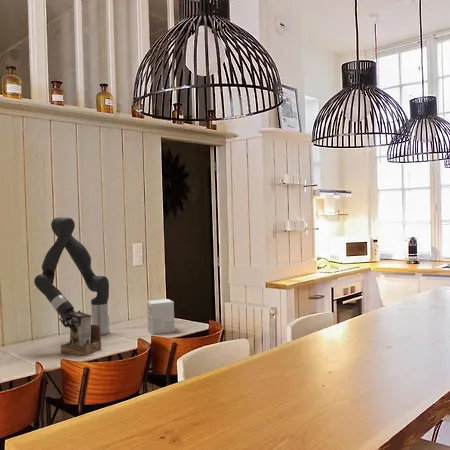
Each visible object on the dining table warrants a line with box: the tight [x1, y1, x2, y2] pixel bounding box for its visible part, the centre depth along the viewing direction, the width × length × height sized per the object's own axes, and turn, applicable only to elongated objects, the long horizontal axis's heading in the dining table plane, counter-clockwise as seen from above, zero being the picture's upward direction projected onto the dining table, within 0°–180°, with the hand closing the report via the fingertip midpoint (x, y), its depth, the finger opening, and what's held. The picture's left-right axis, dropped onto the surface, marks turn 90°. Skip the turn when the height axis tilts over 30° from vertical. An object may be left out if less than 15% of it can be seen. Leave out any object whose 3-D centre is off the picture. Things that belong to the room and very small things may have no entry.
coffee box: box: [69, 311, 92, 346], centre depth 242 cm, size 9×6×16 cm
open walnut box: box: [60, 324, 102, 356], centre depth 243 cm, size 13×14×12 cm
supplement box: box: [146, 298, 176, 335], centre depth 283 cm, size 13×13×18 cm
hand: (81, 329), depth 242 cm, fingers closed on coffee box, 8 cm apart
